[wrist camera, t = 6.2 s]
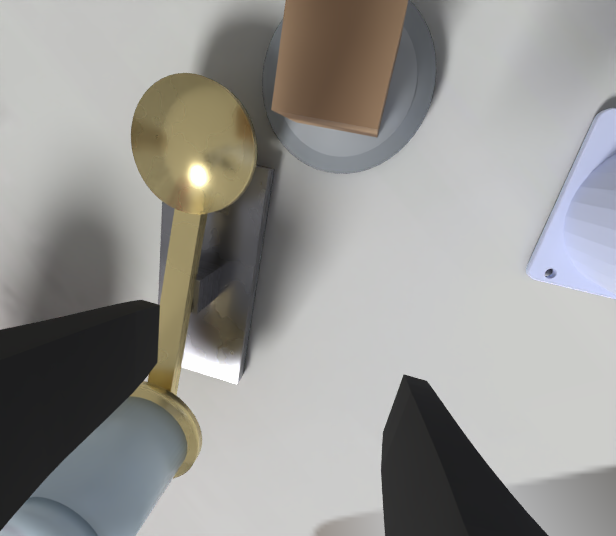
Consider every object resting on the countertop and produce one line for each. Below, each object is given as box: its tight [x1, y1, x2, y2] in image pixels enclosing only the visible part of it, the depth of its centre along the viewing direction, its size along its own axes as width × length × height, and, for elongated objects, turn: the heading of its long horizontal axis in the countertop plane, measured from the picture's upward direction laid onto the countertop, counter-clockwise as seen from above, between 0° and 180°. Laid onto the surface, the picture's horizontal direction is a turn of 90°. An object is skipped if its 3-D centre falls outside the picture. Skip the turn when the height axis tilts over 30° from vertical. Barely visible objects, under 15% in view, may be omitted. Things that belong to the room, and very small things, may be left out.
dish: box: [262, 0, 436, 174], centre depth 15 cm, size 8×8×1 cm
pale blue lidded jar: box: [0, 396, 187, 536], centre depth 15 cm, size 5×5×6 cm
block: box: [271, 0, 408, 137], centre depth 13 cm, size 4×4×4 cm
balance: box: [130, 73, 274, 478], centre depth 18 cm, size 21×6×6 cm, turn 169°
